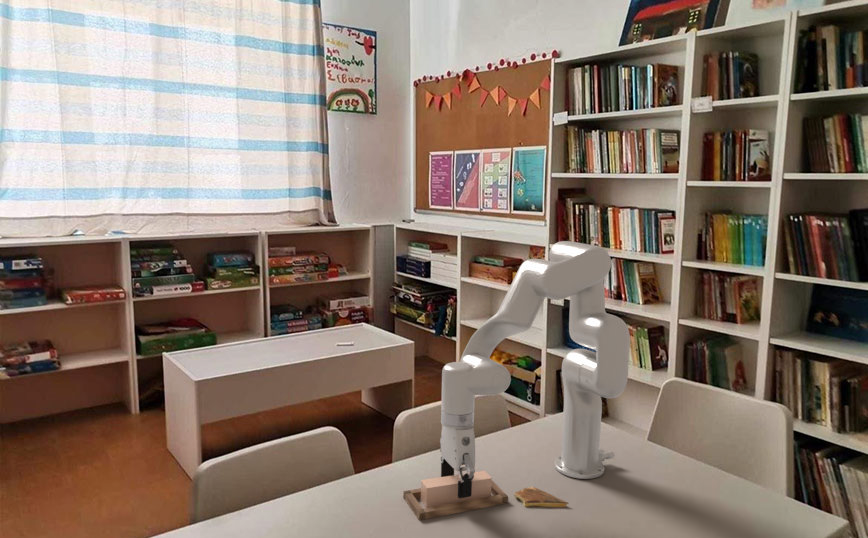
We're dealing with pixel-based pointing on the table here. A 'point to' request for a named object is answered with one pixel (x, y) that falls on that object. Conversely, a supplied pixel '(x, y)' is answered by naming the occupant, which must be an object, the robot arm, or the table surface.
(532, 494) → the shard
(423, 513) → the brown wooden frame
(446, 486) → the pink rectangular block
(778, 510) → the table surface
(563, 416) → the robot arm
